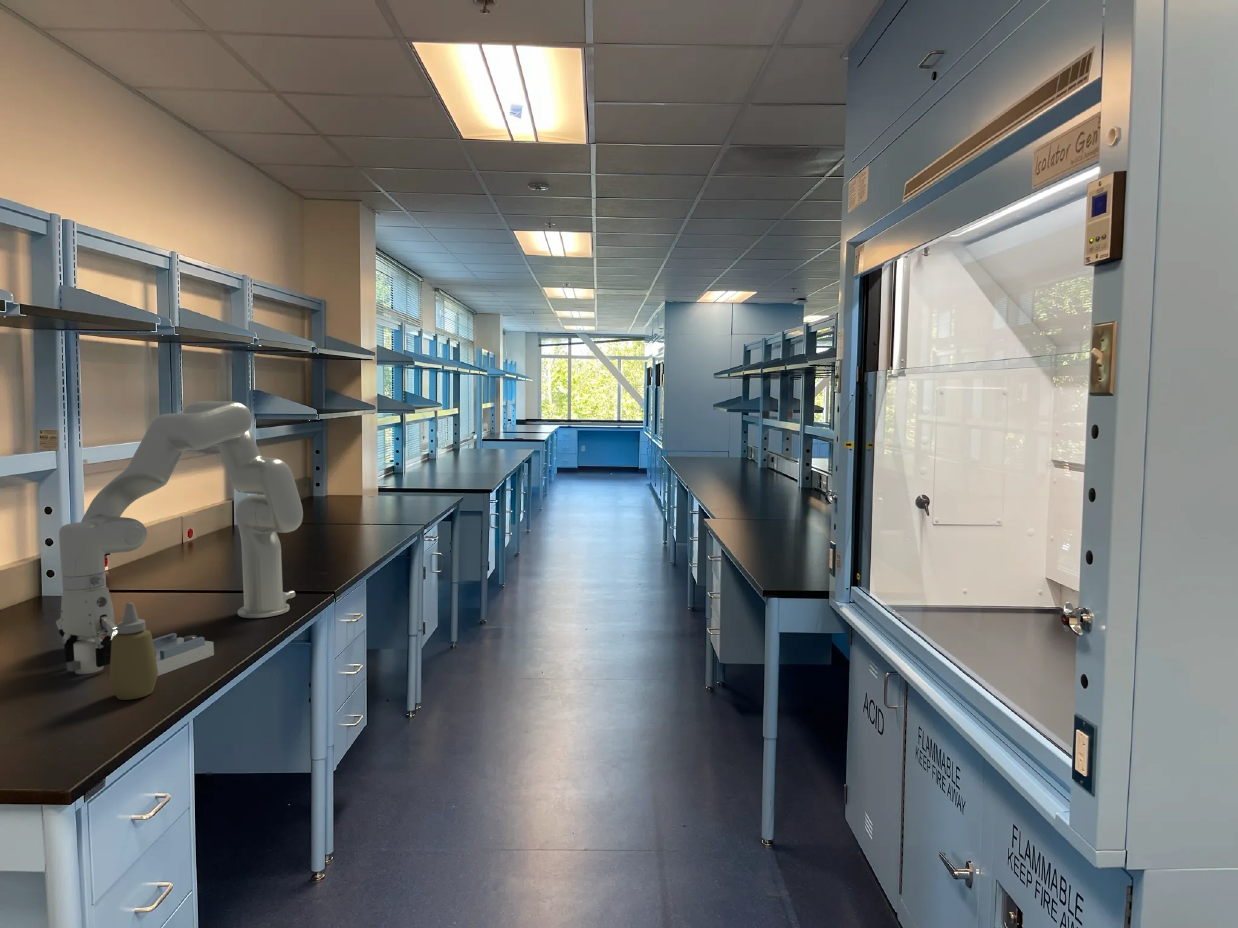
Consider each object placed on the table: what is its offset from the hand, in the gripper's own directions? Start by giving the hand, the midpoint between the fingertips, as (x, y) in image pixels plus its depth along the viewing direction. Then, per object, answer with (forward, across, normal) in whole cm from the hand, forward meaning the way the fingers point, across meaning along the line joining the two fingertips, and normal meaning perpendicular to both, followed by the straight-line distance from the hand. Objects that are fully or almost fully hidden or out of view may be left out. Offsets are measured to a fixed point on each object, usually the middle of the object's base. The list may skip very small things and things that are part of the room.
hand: (89, 662), depth 163 cm
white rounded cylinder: (+2, 0, 0) cm, 2 cm away
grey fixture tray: (+2, -12, -9) cm, 15 cm away
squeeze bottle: (+2, -22, +7) cm, 23 cm away
